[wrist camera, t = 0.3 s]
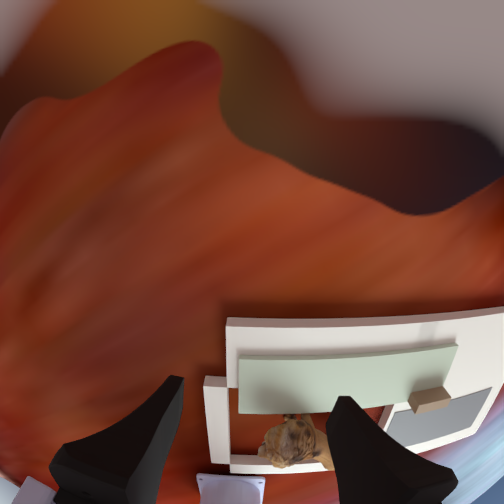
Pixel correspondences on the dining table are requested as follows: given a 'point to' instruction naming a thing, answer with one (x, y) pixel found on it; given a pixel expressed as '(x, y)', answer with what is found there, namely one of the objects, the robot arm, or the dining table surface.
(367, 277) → the dining table surface
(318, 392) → the shutter
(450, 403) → the puzzle board
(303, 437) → the lion figurine
